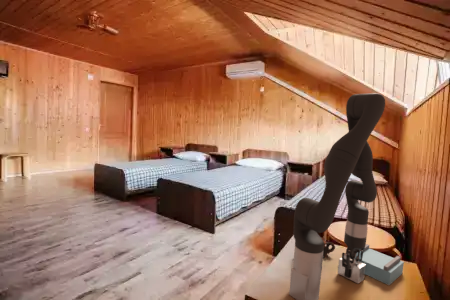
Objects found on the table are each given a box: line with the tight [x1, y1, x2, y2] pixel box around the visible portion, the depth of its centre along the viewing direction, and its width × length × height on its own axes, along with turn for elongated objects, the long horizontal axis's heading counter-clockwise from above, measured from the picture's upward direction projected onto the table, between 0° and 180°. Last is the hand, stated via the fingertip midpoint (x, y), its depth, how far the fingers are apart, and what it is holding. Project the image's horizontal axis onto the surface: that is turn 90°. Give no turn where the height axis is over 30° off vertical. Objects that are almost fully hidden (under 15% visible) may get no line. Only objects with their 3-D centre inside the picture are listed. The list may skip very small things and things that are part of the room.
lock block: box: [337, 257, 366, 284], centre depth 101 cm, size 5×8×6 cm, turn 39°
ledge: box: [361, 243, 405, 286], centre depth 108 cm, size 14×16×6 cm
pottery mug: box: [321, 237, 336, 258], centre depth 120 cm, size 12×10×8 cm
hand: (350, 274), depth 101 cm, fingers closed on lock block, 5 cm apart
